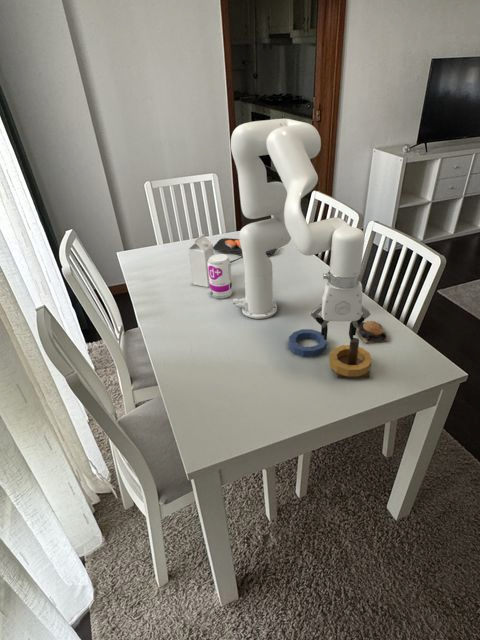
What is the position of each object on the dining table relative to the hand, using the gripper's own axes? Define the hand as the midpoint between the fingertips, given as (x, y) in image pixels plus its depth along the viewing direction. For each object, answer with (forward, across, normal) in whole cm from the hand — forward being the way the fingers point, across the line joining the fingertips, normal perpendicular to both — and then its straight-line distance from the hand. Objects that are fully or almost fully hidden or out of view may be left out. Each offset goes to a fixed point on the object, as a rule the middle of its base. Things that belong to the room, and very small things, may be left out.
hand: (337, 336), depth 113 cm
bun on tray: (+11, +14, +18) cm, 25 cm away
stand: (+11, +5, 0) cm, 12 cm away
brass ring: (+10, +4, 0) cm, 11 cm away
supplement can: (+11, -38, +45) cm, 60 cm away
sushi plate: (+11, -33, +81) cm, 88 cm away
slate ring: (+11, -7, +11) cm, 17 cm away
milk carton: (+11, -46, +55) cm, 73 cm away
